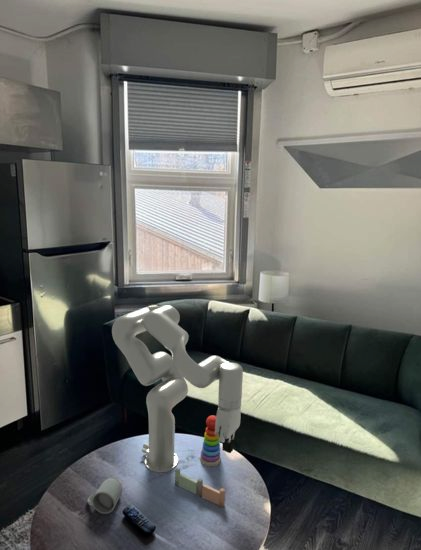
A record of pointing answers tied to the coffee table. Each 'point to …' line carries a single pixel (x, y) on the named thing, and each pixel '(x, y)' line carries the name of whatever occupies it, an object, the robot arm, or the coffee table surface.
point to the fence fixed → (185, 481)
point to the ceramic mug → (106, 496)
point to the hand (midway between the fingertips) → (227, 450)
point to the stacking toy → (210, 444)
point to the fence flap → (210, 493)
